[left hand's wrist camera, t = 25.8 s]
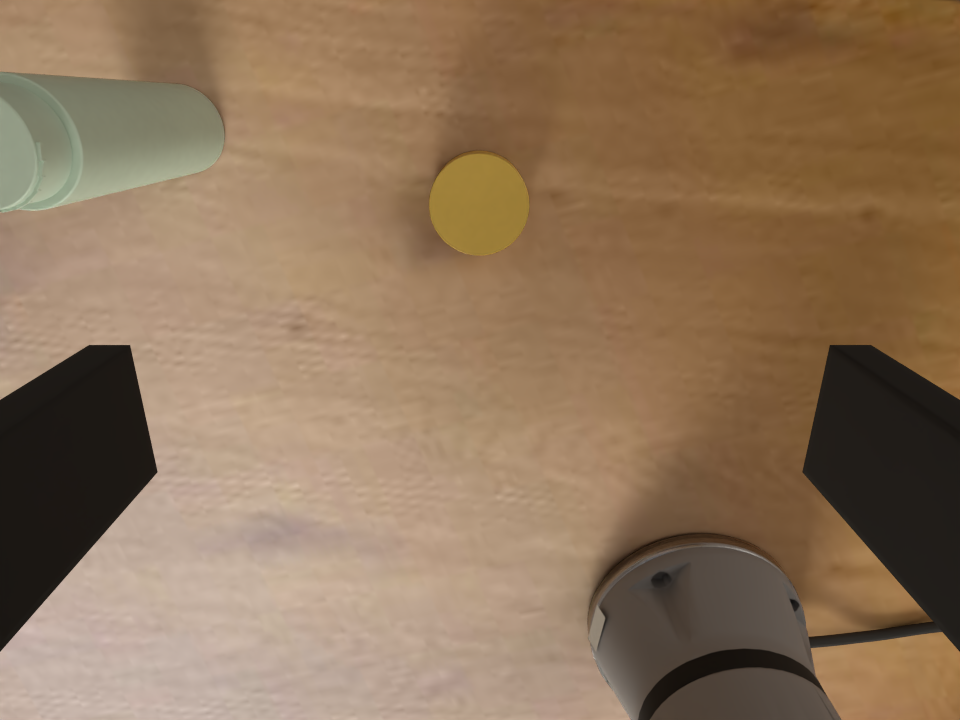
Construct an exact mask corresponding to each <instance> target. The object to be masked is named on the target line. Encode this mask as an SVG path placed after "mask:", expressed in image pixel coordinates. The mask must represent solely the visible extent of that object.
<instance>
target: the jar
mask: <svg viewBox="0 0 960 720" xmlns="http://www.w3.org/2000/svg"><path fill="white" fill-rule="evenodd" d="M224 139H225V137H224V126H223V123H222V119H221V117H220V115H219V113H218V111H217V109H216V108H215V106H214V105H213V103H212V102H211V101H210V100H209V99H208V98H207V97H206V96H205V95H204V94H202V93H201V92H200V91H198V90H196V89H194V88H192V87H190V86H186V85H183V84H174V83H160V82H145V81H130V80H115V79H100V78H85V77H71V76H56V75H41V74H26V73H11V72H0V212H2V213H3V212H8V211H13V210H17V209H21V210H28V211H39V210H46V209H50V208H54V207H58V206H62V205H66V204H71V203H75V202H79V201H83V200H87V199H91V198H95V197H99V196H103V195H108V194H112V193H116V192H120V191H124V190H128V189H132V188H136V187H141V186H145V185H149V184H153V183H157V182H161V181H165V180H169V179H174V178H178V177H182V176H186V175H190V174H194V173H198V172H201V171H204V170H206V169H208V168H209V167H211V166H212V165H213V164H214V163H215V162H216V161H217V159H218V158H219V156H220V154H221V152H222V150H223V146H224Z"/></svg>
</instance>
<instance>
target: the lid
mask: <svg viewBox="0 0 960 720" xmlns="http://www.w3.org/2000/svg"><path fill="white" fill-rule="evenodd" d="M429 211H430V217H431V220H432V223H433V225H434V228H435V230H436V231H437V233H438V234H439V236H440V237H441V238H442V239H443V240H444V241H445V242H446V243H447V244H448V245H449V246H451V247H452V248H454V249H456V250H458V251H460V252H462V253H465V254H469V255H477V256H478V255H489V254H493V253H496V252H499V251H501V250H503V249H504V248H506V247H508V246H509V245H510V244H512V243H513V242H514V241H515V240H516V239H517V237H518V236H519V235H520V233H521V232H522V230H523V228H524V226H525V224H526V221H527V218H528V214H529V195H528V191H527V188H526V185H525V183H524V181H523V179H522V177H521V175H520V174H519V172H518V171H517V169H516V168H515V167H514V166H513V165H512V164H511V163H510V162H509V161H508V160H506V159H505V158H503V157H502V156H500V155H498V154H495V153H492V152H488V151H471V152H466V153H463V154H461V155H459V156H457V157H455V158H453V159H452V160H451V161H449V162H448V163H447V164H446V165H445V166H444V167H443V168H442V170H441V171H440V173H439V174H438V176H437V178H436V179H435V181H434V183H433V186H432V189H431V192H430V198H429Z"/></svg>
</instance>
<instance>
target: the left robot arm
mask: <svg viewBox="0 0 960 720" xmlns="http://www.w3.org/2000/svg"><path fill="white" fill-rule="evenodd" d="M156 473H157V468H156V463H155V458H154V454H153V449H152V445H151V440H150V435H149V431H148V426H147V422H146V417H145V412H144V408H143V403H142V398H141V394H140V389H139V385H138V380H137V375H136V371H135V366H134V361H133V357H132V352H131V348H130V345H89V346H87V347H85V348H84V349H82V350H80V351H79V352H77V353H76V354H74V355H72V356H71V357H69V358H67V359H66V360H64V361H63V362H61V363H59V364H58V365H56V366H55V367H53V368H51V369H50V370H48V371H46V372H45V373H43V374H42V375H40V376H38V377H37V378H35V379H33V380H32V381H30V382H29V383H27V384H25V385H24V386H22V387H20V388H19V389H17V390H16V391H14V392H12V393H11V394H9V395H8V396H6V397H4V398H3V399H1V400H0V651H1V650H2V649H3V648H4V647H5V646H6V644H7V643H8V642H9V641H10V640H11V639H12V638H13V636H14V635H15V634H16V633H17V632H18V631H19V630H20V628H21V627H22V626H23V625H24V624H25V623H26V622H27V620H28V619H29V618H30V617H31V616H32V615H33V614H34V612H35V611H36V610H37V609H38V608H39V607H40V606H41V604H42V603H43V602H44V601H45V600H46V599H47V598H48V597H49V595H50V594H51V593H52V592H53V591H54V590H55V589H56V587H57V586H58V585H59V584H60V583H61V582H62V581H63V579H64V578H65V577H66V576H67V575H68V574H69V573H70V571H71V570H72V569H73V568H74V567H75V566H76V565H77V563H78V562H79V561H80V560H81V559H82V558H83V557H84V555H85V554H86V553H87V552H88V551H89V550H90V549H91V547H92V546H93V545H94V544H95V543H96V542H97V541H98V539H99V538H100V537H101V536H102V535H103V534H104V533H105V531H106V530H107V529H108V528H109V527H110V526H111V525H112V523H113V522H114V521H115V520H116V519H117V518H118V517H119V515H120V514H121V513H122V512H123V511H124V510H125V509H126V507H127V506H128V505H129V504H130V503H131V502H132V501H133V500H134V498H135V497H136V496H137V495H138V494H139V493H140V492H141V490H142V489H143V488H144V487H145V486H146V485H147V484H148V482H149V481H150V480H151V479H152V478H153V477H154V476H155V474H156ZM803 473H804V474H805V476H806V477H807V478H808V479H809V480H810V481H811V482H812V484H813V485H814V486H815V487H816V488H817V489H818V490H819V492H820V493H821V494H822V495H823V496H824V497H825V498H826V500H827V501H828V502H829V503H830V504H831V505H832V506H833V507H834V509H835V510H836V511H837V512H838V513H839V514H840V515H841V517H842V518H843V519H844V520H845V521H846V522H847V523H848V525H849V526H850V527H851V528H852V529H853V530H854V531H855V533H856V534H857V535H858V536H859V537H860V538H861V539H862V541H863V542H864V543H865V544H866V545H867V546H868V547H869V549H870V550H871V551H872V552H873V553H874V554H875V555H876V557H877V558H878V559H879V560H880V561H881V562H882V563H883V565H884V566H885V567H886V568H887V569H888V570H889V571H890V573H891V574H892V575H893V576H894V577H895V578H896V579H897V581H898V582H899V583H900V584H901V585H902V586H903V587H904V589H905V590H906V591H907V592H908V593H909V594H910V595H911V597H912V598H913V599H914V600H915V601H916V602H917V603H918V604H919V606H920V607H921V608H922V609H923V610H924V611H925V612H926V614H927V615H928V616H929V617H930V618H931V619H932V620H933V622H926V623H918V624H911V625H905V626H898V627H892V628H885V629H879V630H871V631H863V632H853V633H845V634H836V635H826V636H815V637H808V633H807V629H806V621H805V616H804V611H803V608H802V605H801V602H800V600H799V597H798V594H797V592H796V590H795V588H794V586H793V585H792V583H791V582H790V580H789V578H788V577H787V575H786V574H785V572H784V571H783V569H782V568H781V567H780V565H779V564H778V563H777V562H776V561H775V560H774V559H773V558H772V557H771V556H770V555H768V554H767V553H766V552H765V551H763V550H761V549H760V548H758V547H756V546H754V545H752V544H750V543H748V542H745V541H743V540H740V539H737V538H733V537H729V536H723V535H716V534H690V535H682V536H676V537H672V538H668V539H664V540H661V541H658V542H655V543H653V544H650V545H648V546H646V547H644V548H642V549H640V550H638V551H636V552H634V553H633V554H631V555H630V556H628V557H627V558H625V559H624V560H623V561H621V562H620V563H619V564H618V565H617V566H615V567H614V568H613V569H612V570H611V571H610V572H609V573H608V575H607V576H606V577H605V578H604V579H603V581H602V582H601V583H600V585H599V587H598V588H597V590H596V592H595V594H594V596H593V598H592V601H591V604H590V608H589V613H588V633H589V637H588V639H589V641H590V644H591V649H592V653H593V656H594V659H595V661H596V663H597V666H598V668H599V670H600V673H601V674H602V676H603V678H604V679H605V681H606V682H607V683H608V685H609V686H610V687H611V689H612V690H613V691H614V693H615V694H616V696H617V698H618V699H619V701H620V703H621V704H622V706H623V708H624V709H625V711H626V713H627V714H628V716H629V717H630V719H631V720H841V718H840V717H839V715H838V713H837V712H836V710H835V708H834V706H833V705H832V703H831V702H830V700H829V699H828V697H827V695H826V693H825V692H824V690H823V688H822V687H821V685H820V683H819V681H818V679H817V678H816V675H815V670H814V664H813V659H812V653H811V648H817V647H828V646H837V645H846V644H854V643H863V642H872V641H880V640H887V639H894V638H900V637H907V636H913V635H920V634H927V633H935V632H943V633H944V634H945V635H946V636H947V638H948V639H949V640H950V641H951V642H952V643H953V644H954V646H955V647H956V648H957V649H958V650H959V651H960V400H959V399H957V398H956V397H954V396H952V395H951V394H949V393H948V392H946V391H944V390H943V389H941V388H940V387H938V386H936V385H935V384H933V383H931V382H930V381H928V380H927V379H925V378H923V377H922V376H920V375H918V374H917V373H915V372H914V371H912V370H910V369H909V368H907V367H905V366H904V365H902V364H901V363H899V362H897V361H896V360H894V359H893V358H891V357H889V356H888V355H886V354H884V353H883V352H881V351H880V350H878V349H876V348H875V347H873V346H871V345H830V348H829V352H828V357H827V361H826V366H825V371H824V375H823V380H822V385H821V389H820V394H819V398H818V403H817V408H816V412H815V417H814V422H813V426H812V431H811V435H810V440H809V445H808V449H807V454H806V458H805V463H804V468H803Z"/></svg>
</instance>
